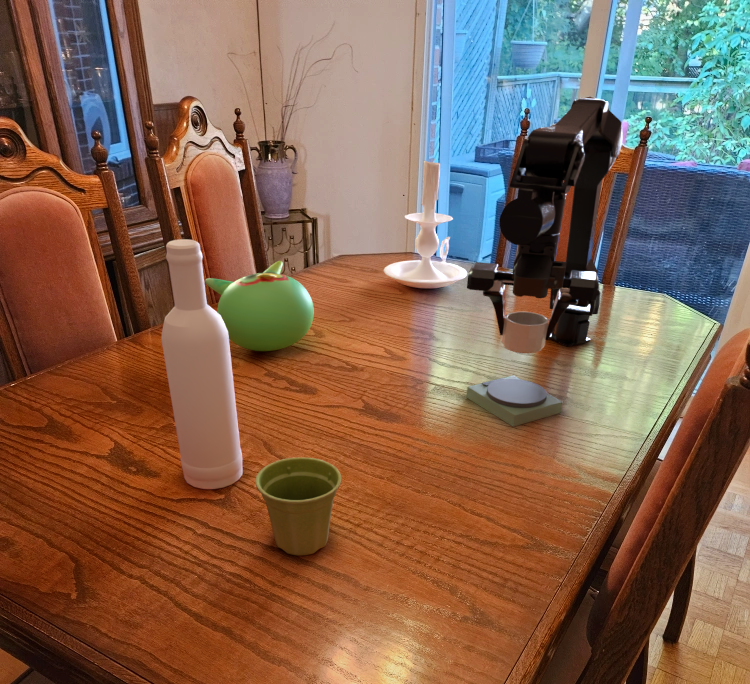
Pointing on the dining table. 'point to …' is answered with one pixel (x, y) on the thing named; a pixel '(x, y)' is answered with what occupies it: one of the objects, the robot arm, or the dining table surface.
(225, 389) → the bottle
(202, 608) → the dining table surface
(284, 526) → the plant pot
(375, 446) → the dining table surface
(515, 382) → the scale
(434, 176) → the candlestick
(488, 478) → the dining table surface
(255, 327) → the green rounded piece
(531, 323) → the cup
